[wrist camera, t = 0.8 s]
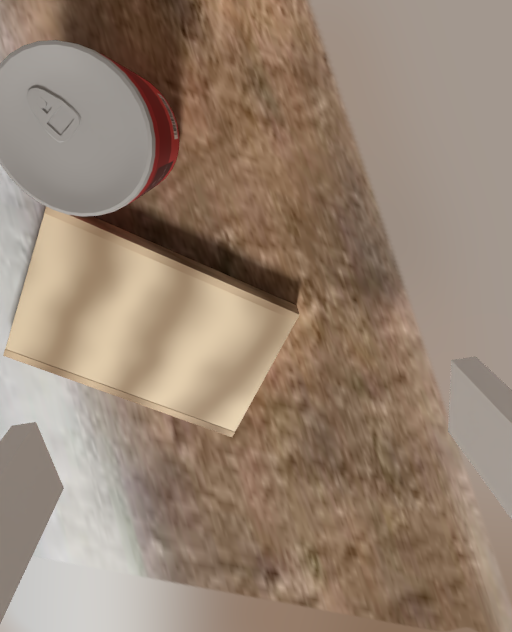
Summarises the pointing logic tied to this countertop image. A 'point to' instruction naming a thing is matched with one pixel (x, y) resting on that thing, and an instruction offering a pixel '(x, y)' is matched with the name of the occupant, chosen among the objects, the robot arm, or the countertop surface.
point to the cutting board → (145, 322)
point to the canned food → (82, 129)
